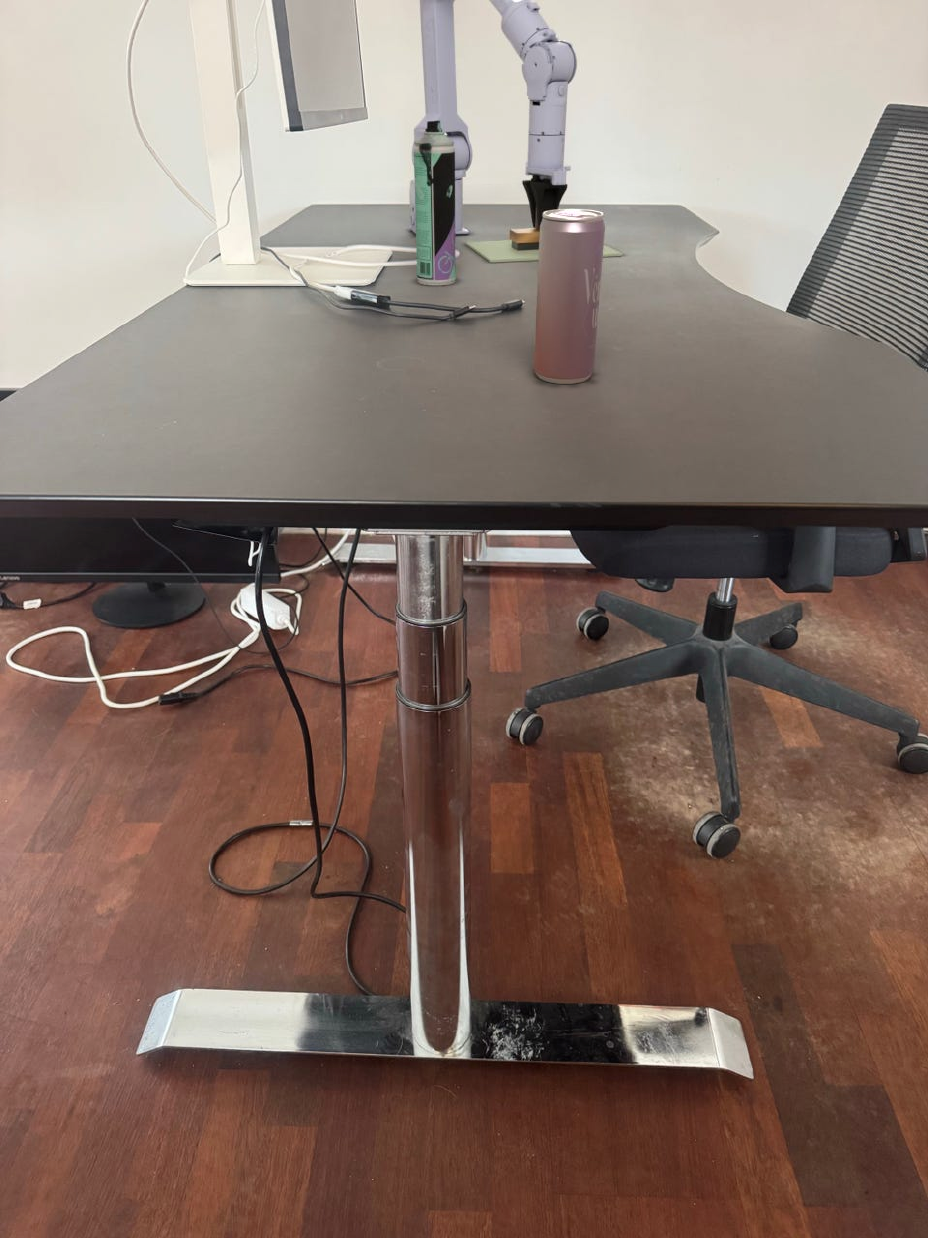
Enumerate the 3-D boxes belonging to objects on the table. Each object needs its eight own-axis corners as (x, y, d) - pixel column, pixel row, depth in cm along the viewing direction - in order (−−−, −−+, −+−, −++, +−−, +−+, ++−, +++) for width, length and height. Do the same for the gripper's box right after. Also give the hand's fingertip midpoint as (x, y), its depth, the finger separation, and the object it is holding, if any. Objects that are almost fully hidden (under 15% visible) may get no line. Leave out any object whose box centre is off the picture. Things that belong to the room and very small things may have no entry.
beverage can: (555, 363, 91) (564, 206, 83) (604, 374, 88) (618, 212, 80) (521, 377, 87) (527, 213, 79) (571, 389, 84) (583, 220, 76)
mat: (490, 262, 136) (490, 259, 135) (465, 244, 149) (465, 241, 149) (622, 255, 140) (622, 253, 140) (586, 238, 153) (587, 236, 153)
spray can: (455, 285, 122) (454, 121, 111) (416, 285, 122) (411, 121, 111) (456, 277, 127) (455, 118, 116) (418, 277, 127) (414, 118, 116)
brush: (516, 251, 142) (517, 205, 138) (509, 246, 145) (510, 202, 141) (574, 248, 144) (577, 203, 140) (566, 243, 147) (568, 200, 143)
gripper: (587, 137, 130) (581, 235, 138) (555, 130, 142) (551, 221, 149) (542, 138, 129) (538, 237, 136) (514, 131, 141) (512, 222, 148)
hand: (542, 228), depth 143 cm, fingers closed on brush, 2 cm apart
